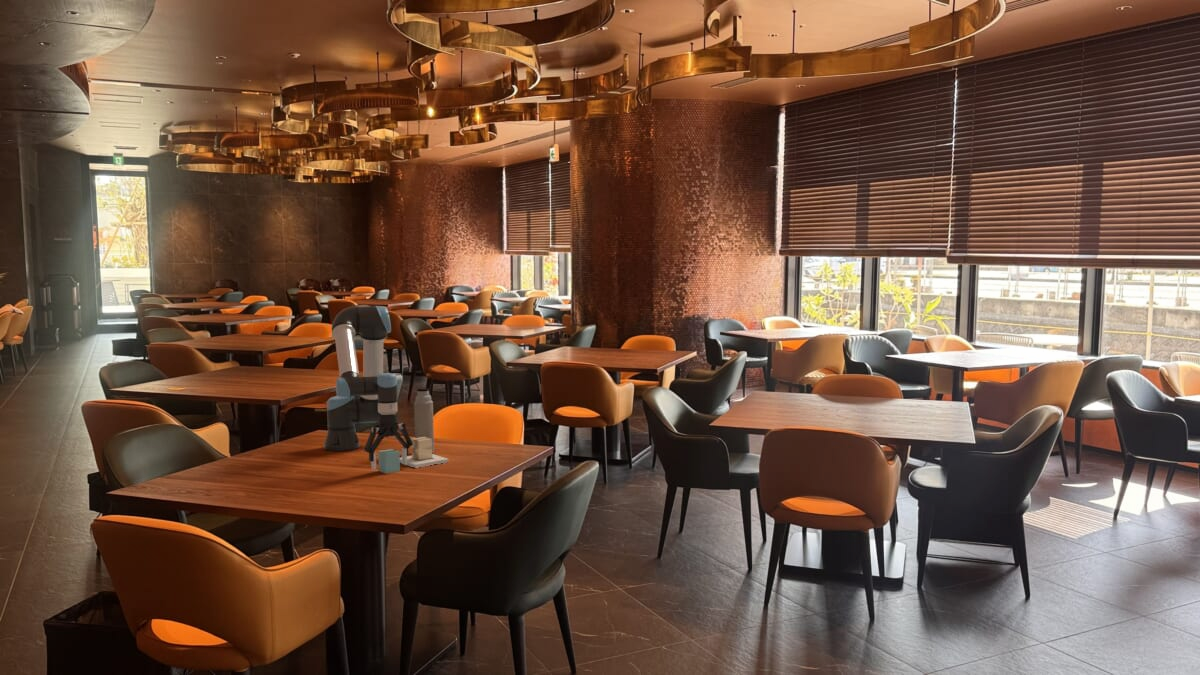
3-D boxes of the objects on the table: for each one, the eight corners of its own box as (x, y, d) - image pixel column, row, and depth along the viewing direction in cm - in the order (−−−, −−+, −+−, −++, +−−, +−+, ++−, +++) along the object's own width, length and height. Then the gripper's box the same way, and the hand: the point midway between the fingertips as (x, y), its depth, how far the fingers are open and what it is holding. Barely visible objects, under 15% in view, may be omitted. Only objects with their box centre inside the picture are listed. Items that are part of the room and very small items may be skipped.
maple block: (411, 457, 370) (411, 438, 369) (424, 455, 373) (424, 436, 373) (419, 460, 365) (418, 440, 364) (432, 458, 369) (431, 438, 368)
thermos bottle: (435, 450, 391) (434, 387, 388) (431, 454, 383) (430, 389, 380) (417, 450, 391) (415, 387, 388) (413, 454, 383) (411, 389, 380)
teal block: (378, 471, 354) (378, 451, 354) (392, 468, 358) (392, 448, 358) (386, 473, 350) (385, 453, 349) (400, 471, 354) (399, 451, 353)
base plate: (396, 461, 370) (396, 457, 370) (428, 456, 380) (428, 452, 380) (415, 468, 358) (415, 464, 358) (448, 462, 368) (448, 458, 368)
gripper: (362, 417, 341) (364, 473, 343) (420, 410, 357) (421, 463, 359) (354, 415, 347) (355, 469, 349) (411, 408, 363) (412, 460, 365)
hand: (389, 466), depth 354 cm, fingers open, 12 cm apart
